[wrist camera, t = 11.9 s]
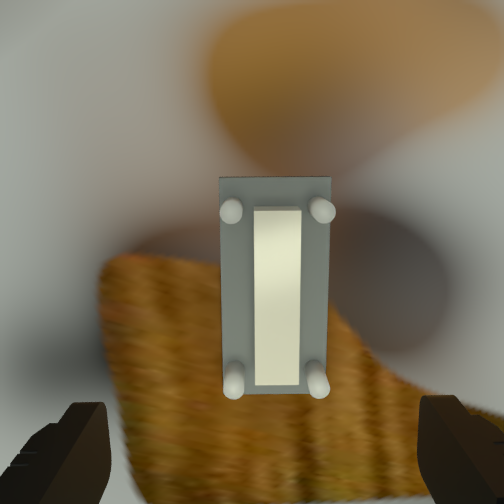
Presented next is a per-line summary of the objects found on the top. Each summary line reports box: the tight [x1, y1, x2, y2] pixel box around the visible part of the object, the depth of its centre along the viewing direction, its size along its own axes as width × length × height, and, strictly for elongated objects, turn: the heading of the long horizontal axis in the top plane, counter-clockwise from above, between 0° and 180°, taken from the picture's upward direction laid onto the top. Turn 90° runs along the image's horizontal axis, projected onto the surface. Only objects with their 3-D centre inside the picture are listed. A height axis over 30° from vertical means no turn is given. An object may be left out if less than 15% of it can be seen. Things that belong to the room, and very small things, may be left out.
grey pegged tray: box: [219, 176, 336, 399], centre depth 32 cm, size 16×8×4 cm, turn 0°
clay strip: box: [254, 206, 301, 385], centre depth 32 cm, size 12×3×2 cm, turn 0°
